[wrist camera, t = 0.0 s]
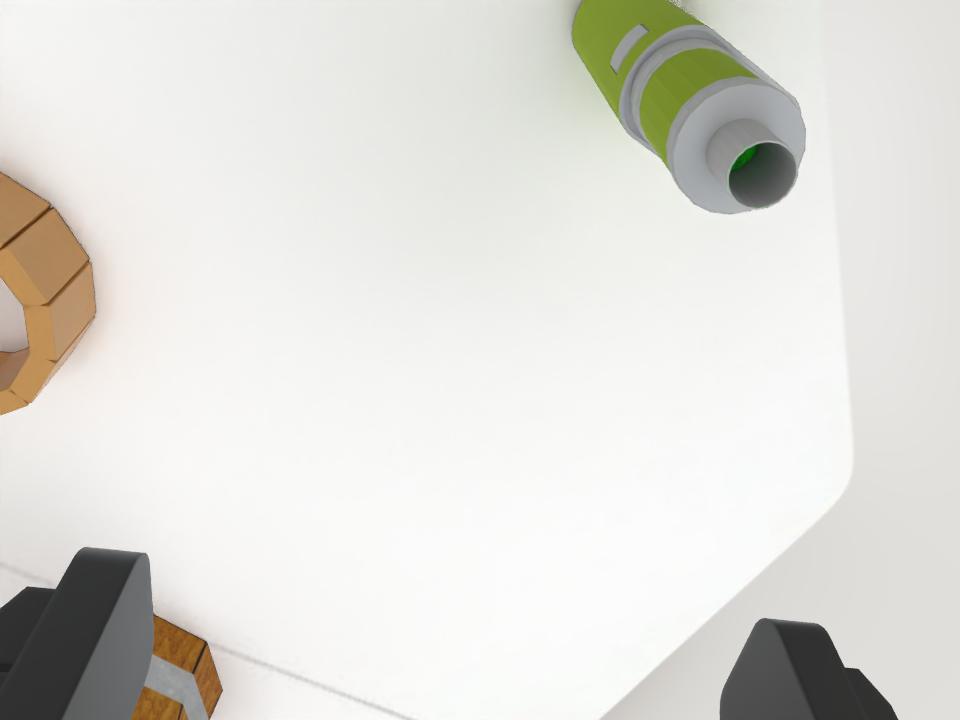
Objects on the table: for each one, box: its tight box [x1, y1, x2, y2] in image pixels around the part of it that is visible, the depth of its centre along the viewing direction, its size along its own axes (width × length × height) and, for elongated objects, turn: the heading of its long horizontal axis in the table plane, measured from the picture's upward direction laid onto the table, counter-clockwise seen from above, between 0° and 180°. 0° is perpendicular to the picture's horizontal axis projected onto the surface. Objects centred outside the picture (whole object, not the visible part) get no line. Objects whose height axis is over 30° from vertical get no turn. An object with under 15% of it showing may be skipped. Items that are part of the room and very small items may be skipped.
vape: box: [572, 0, 806, 214], centre depth 27 cm, size 4×6×20 cm, turn 55°
